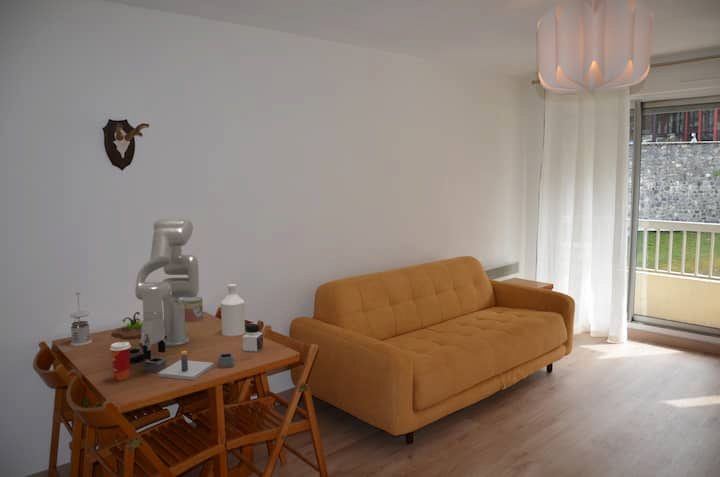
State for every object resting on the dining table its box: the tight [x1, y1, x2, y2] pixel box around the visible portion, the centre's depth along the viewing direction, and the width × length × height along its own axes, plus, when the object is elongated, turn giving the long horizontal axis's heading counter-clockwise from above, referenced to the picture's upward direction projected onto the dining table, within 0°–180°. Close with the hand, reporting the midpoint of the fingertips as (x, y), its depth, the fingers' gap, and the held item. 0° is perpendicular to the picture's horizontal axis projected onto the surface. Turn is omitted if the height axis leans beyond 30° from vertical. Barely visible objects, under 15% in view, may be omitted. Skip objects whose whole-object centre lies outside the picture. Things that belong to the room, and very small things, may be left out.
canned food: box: [180, 296, 204, 323], centre depth 302 cm, size 11×11×12 cm
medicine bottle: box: [242, 322, 264, 353], centre depth 252 cm, size 7×7×12 cm
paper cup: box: [109, 341, 132, 382], centre depth 216 cm, size 8×8×14 cm
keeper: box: [157, 350, 215, 381], centre depth 224 cm, size 16×16×10 cm
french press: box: [69, 291, 93, 347], centre depth 262 cm, size 10×12×25 cm
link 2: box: [217, 352, 235, 369], centre depth 232 cm, size 6×6×4 cm
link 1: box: [144, 356, 167, 373], centre depth 227 cm, size 6×6×4 cm
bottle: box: [220, 283, 246, 337], centre depth 276 cm, size 12×12×25 cm
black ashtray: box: [130, 347, 145, 364], centre depth 239 cm, size 12×12×4 cm
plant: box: [111, 311, 143, 341], centre depth 277 cm, size 20×20×11 cm
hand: (154, 355), depth 225 cm, fingers open, 9 cm apart
